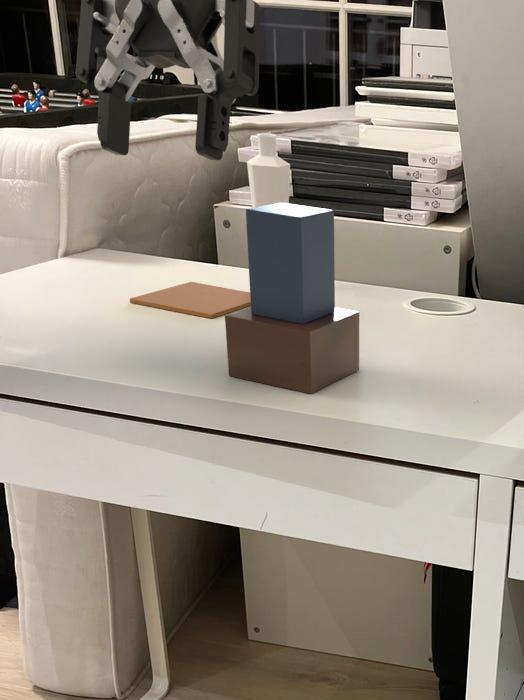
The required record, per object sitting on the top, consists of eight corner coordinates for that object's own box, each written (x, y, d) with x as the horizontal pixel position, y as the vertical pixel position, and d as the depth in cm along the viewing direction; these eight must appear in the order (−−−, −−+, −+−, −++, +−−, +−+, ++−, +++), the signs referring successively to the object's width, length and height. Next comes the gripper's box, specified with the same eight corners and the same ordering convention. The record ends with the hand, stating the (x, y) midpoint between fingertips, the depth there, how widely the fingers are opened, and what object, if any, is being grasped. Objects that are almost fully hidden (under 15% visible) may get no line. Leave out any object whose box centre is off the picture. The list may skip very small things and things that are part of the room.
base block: (311, 394, 79) (309, 331, 77) (228, 376, 82) (224, 315, 79) (359, 370, 86) (359, 311, 83) (281, 354, 88) (279, 296, 85)
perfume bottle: (265, 288, 108) (258, 137, 100) (246, 280, 111) (237, 132, 103) (301, 285, 111) (297, 137, 103) (281, 276, 114) (276, 132, 106)
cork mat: (211, 318, 96) (211, 314, 96) (129, 302, 99) (129, 298, 99) (268, 299, 104) (268, 295, 104) (191, 285, 107) (191, 281, 107)
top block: (303, 324, 78) (300, 217, 74) (250, 314, 80) (245, 208, 76) (335, 312, 82) (334, 210, 78) (284, 302, 84) (281, 202, 79)
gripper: (54, -122, 66) (45, 135, 70) (228, -135, 62) (208, 142, 65) (131, -66, 73) (119, 165, 77) (293, -74, 68) (272, 173, 72)
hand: (160, 154), depth 71 cm, fingers open, 8 cm apart
